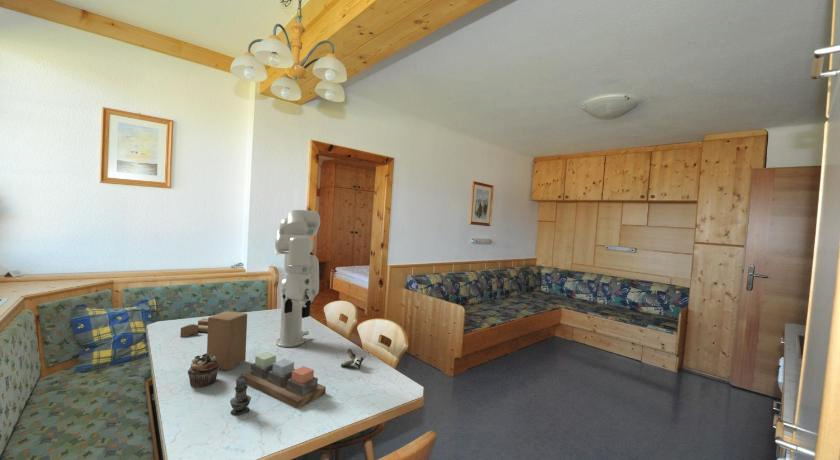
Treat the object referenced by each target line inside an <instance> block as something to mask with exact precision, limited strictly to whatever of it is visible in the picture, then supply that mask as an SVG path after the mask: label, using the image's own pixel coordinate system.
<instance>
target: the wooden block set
mask: <svg viewBox="0 0 840 460" xmlns="http://www.w3.org/2000/svg"><path fill="white" fill-rule="evenodd" d="M199 333H207V334H208V318H206V317H205V318H202V319H199V320H198V321H197V324H194V323H193V324H191V323H190V324H186V325H184V326H182V327H180V334H179V335H180V336H179V337H180V338H183V337H190V336H195V335H198V334H199Z"/></svg>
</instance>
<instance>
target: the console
mask: <svg viewBox="0 0 840 460" xmlns="http://www.w3.org/2000/svg"><path fill="white" fill-rule="evenodd" d="M294 370H296V369H295V368H294ZM242 374H243V373H242ZM243 375H244V376H246V377H247V383H246V385H247V386H249V387H250V388H253V389H255V390H257V391H259V392H261V393H263V394H266V395H268V396H269V397H271V398H273V399H276V400H278V401H280V402H282V403H284V404H285V405H289V406H290V407H292V408H294V409H296V410H299V409H301V408H302V407H304V406H306V405H308V404H310V403H311V402H313V401H315V400H317V399H319V398H320V397H322V396H324V395H326V390H327V387H326V386H325V385H322V384H320V383H318V381H319V379H318V378H317V377H315V376H314V377H313V380H311V381H309V382H307V383H305V384H303V385H300V384H298V383H296V382H293V381H292V372H291V373H289V374H286V375H284V376H279V375H277V374H275V373H273V365H271V366H269V367H266V368H264V369H263V368H261V367H258V366H256V365H255V362H254V363H251V364H250V371H248V372H247V373H244V374H243Z"/></svg>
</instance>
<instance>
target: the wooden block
mask: <svg viewBox="0 0 840 460" xmlns="http://www.w3.org/2000/svg"><path fill="white" fill-rule="evenodd" d="M207 319H208V333H207V338H206V339H207V342H206V353H207V354H208V356H212V355H213V356H215V357H216V360H217V362H218V365H219V370H220V371H228V372H229V371H230V370H232V369H234V368H236V367H237V366H239V365H241V364H242V363H245V362H246V357H247V356H246V353H247V352H246V351H247V335H248V334H247V330H248V327H247V326H248V313H245V312H238V311H230V310H225V311H223V312H220V313H218V314H214V315H210V316H209V317H207Z"/></svg>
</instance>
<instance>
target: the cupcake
mask: <svg viewBox="0 0 840 460" xmlns="http://www.w3.org/2000/svg"><path fill="white" fill-rule="evenodd" d="M219 370H220V369H219V365H218V362H217V360H216V357H215V356H213V355H212V356H208V354H207V352H206V353H203V354H202V355H196V356H194V357H193V358H192V359H191V364H190V367H189V369H188V370H187V375H188V379H189V386H190V387H193V388H199V389H200V388H205V387H209V386H212V385H213V384H215V383H216V382H217V381H216V380H217V377H218V374H219Z"/></svg>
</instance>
